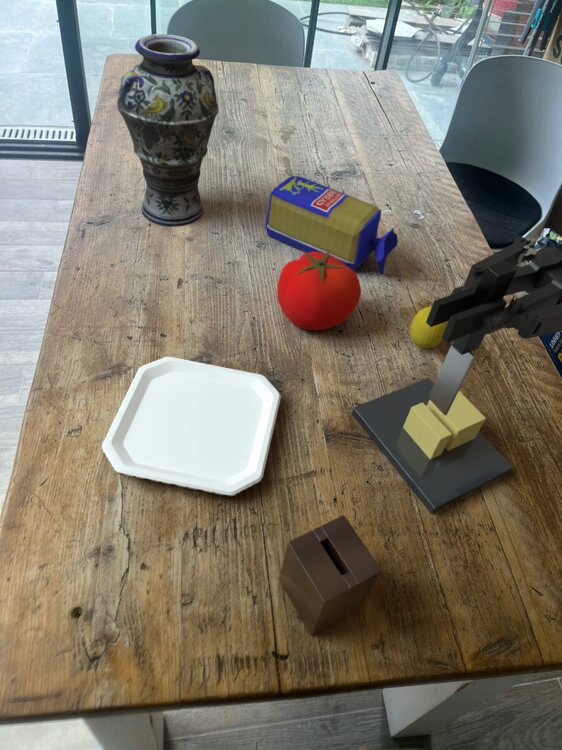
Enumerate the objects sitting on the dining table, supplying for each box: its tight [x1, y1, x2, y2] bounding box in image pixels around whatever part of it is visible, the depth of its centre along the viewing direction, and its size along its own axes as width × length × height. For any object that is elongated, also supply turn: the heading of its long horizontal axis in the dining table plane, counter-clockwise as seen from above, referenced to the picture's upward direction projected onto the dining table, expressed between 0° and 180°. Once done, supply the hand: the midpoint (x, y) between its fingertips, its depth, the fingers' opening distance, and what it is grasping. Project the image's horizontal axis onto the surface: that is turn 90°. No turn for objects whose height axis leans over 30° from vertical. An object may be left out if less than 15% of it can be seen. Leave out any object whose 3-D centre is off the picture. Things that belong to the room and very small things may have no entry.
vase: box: [116, 33, 219, 227], centre depth 104 cm, size 17×17×30 cm
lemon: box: [409, 306, 448, 349], centre depth 92 cm, size 6×6×8 cm
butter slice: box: [403, 402, 452, 459], centre depth 78 cm, size 6×2×4 cm, turn 30°
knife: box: [428, 261, 517, 415], centre depth 60 cm, size 3×2×20 cm
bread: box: [264, 175, 400, 275], centre depth 108 cm, size 10×25×10 cm, turn 59°
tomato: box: [276, 249, 362, 331], centre depth 93 cm, size 12×13×12 cm
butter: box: [427, 390, 487, 451], centre depth 80 cm, size 6×5×4 cm
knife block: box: [278, 514, 383, 637], centre depth 62 cm, size 7×7×9 cm
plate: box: [101, 356, 282, 497], centre depth 78 cm, size 21×21×2 cm
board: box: [351, 377, 514, 515], centre depth 81 cm, size 18×14×2 cm
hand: (440, 321), depth 54 cm, fingers closed on knife, 2 cm apart
